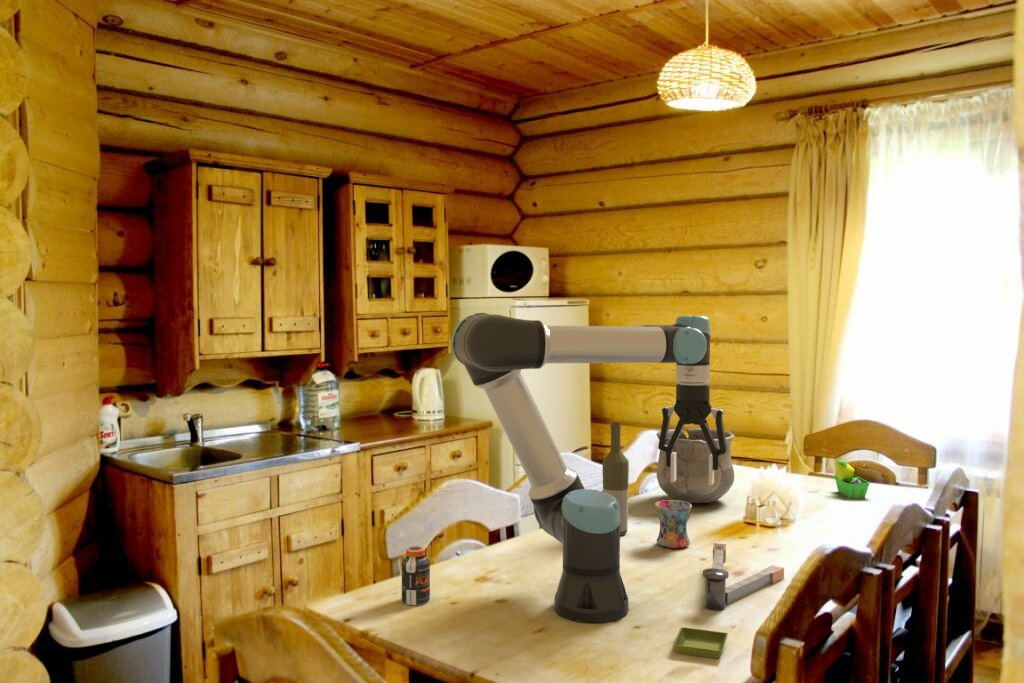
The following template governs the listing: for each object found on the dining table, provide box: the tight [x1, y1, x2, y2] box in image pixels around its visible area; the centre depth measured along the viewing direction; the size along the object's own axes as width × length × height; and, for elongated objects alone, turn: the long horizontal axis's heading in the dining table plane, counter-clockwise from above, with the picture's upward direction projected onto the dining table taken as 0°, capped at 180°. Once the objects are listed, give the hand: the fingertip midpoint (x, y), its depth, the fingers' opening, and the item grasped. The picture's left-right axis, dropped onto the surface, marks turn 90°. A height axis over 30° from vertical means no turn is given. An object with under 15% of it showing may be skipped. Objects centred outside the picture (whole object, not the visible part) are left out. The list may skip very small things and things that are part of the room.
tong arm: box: [711, 542, 727, 570], centre depth 186 cm, size 23×3×3 cm, turn 164°
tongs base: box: [702, 564, 785, 612], centre depth 180 cm, size 29×5×7 cm, turn 134°
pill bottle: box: [401, 545, 431, 606], centre depth 176 cm, size 6×6×11 cm
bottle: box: [602, 422, 630, 536], centre depth 225 cm, size 7×7×30 cm
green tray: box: [672, 626, 729, 659], centre depth 152 cm, size 9×9×2 cm
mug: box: [654, 499, 693, 549], centre depth 216 cm, size 12×9×11 cm
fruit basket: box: [833, 459, 870, 499], centre depth 267 cm, size 11×9×11 cm
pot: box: [655, 427, 735, 504], centre depth 260 cm, size 25×24×21 cm
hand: (692, 482), depth 192 cm, fingers open, 8 cm apart
